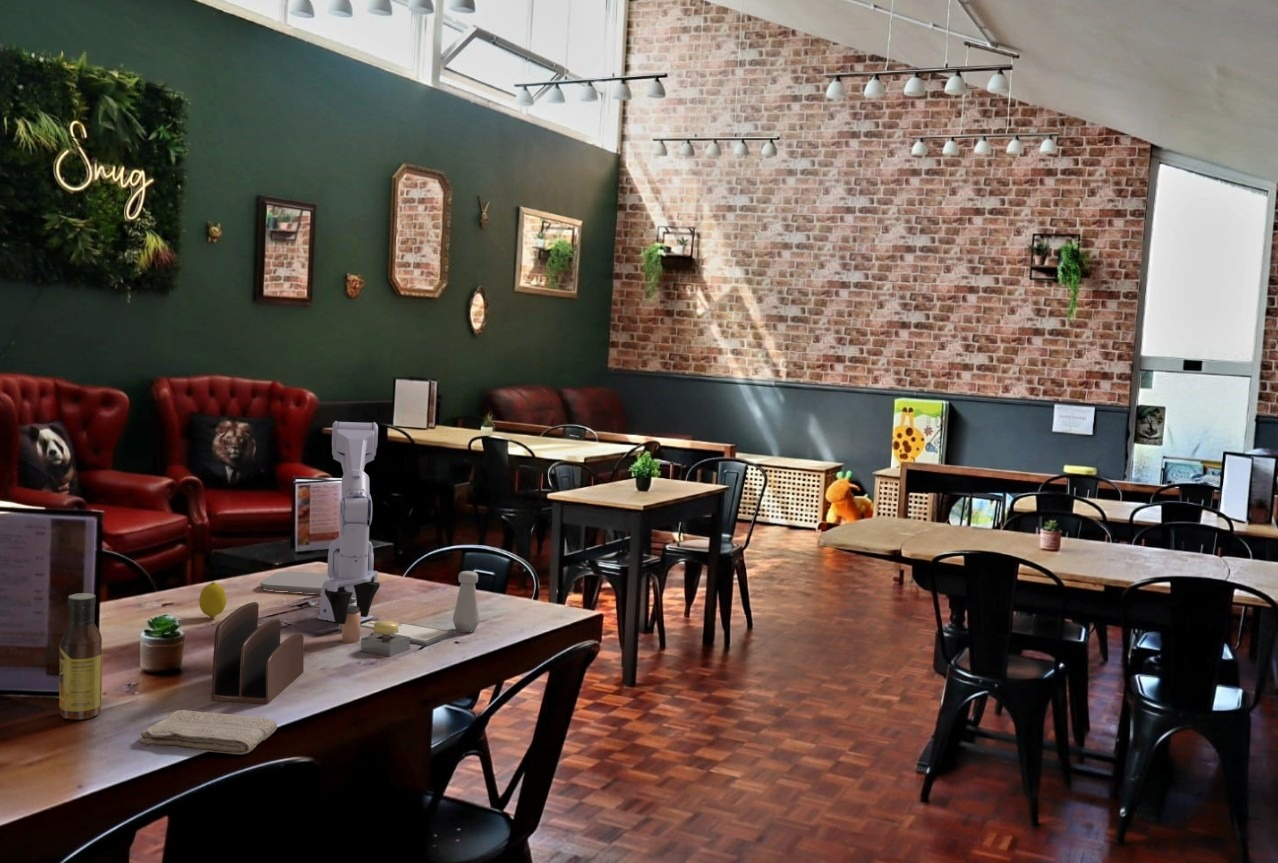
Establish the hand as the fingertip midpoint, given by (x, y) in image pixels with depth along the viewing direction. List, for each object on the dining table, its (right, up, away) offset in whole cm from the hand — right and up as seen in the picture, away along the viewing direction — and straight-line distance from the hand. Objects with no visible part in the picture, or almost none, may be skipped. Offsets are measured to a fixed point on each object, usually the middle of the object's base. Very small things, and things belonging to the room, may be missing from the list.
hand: (351, 619), depth 244 cm
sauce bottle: (-31, -7, -54) cm, 62 cm away
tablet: (-20, 0, +47) cm, 51 cm away
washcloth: (-7, -9, -60) cm, 61 cm away
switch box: (+8, -5, -5) cm, 11 cm away
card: (+2, -4, +14) cm, 14 cm away
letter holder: (-8, -7, -33) cm, 35 cm away
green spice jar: (-3, -4, +9) cm, 10 cm away
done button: (+8, -4, -5) cm, 10 cm away
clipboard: (+11, -5, +7) cm, 14 cm away
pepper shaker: (0, -4, 0) cm, 4 cm away
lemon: (-33, -2, +12) cm, 35 cm away
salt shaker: (+22, -5, +14) cm, 26 cm away
